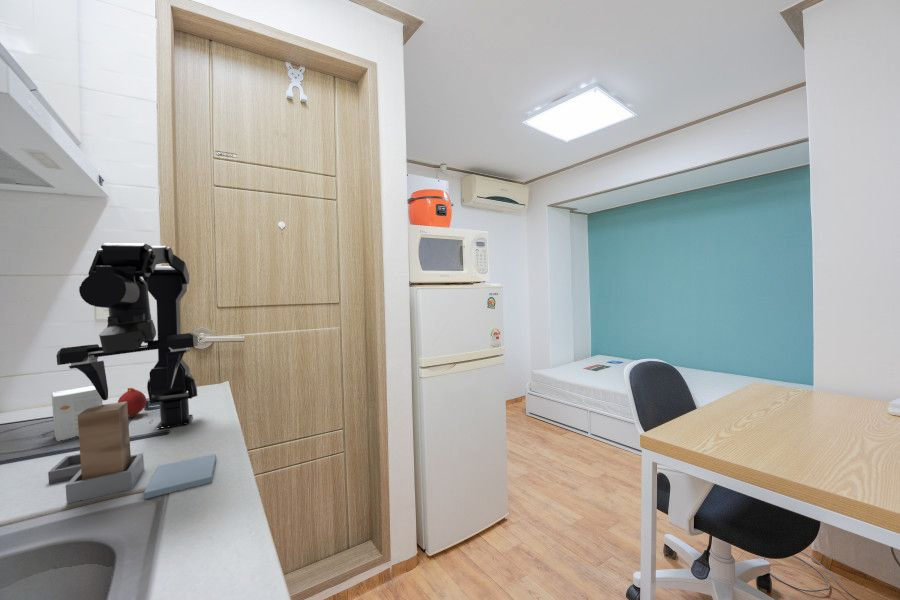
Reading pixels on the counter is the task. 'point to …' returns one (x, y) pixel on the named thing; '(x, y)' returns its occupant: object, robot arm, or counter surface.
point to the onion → (133, 401)
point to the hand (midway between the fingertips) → (138, 394)
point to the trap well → (65, 469)
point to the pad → (181, 475)
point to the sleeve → (104, 482)
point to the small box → (72, 409)
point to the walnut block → (104, 440)
